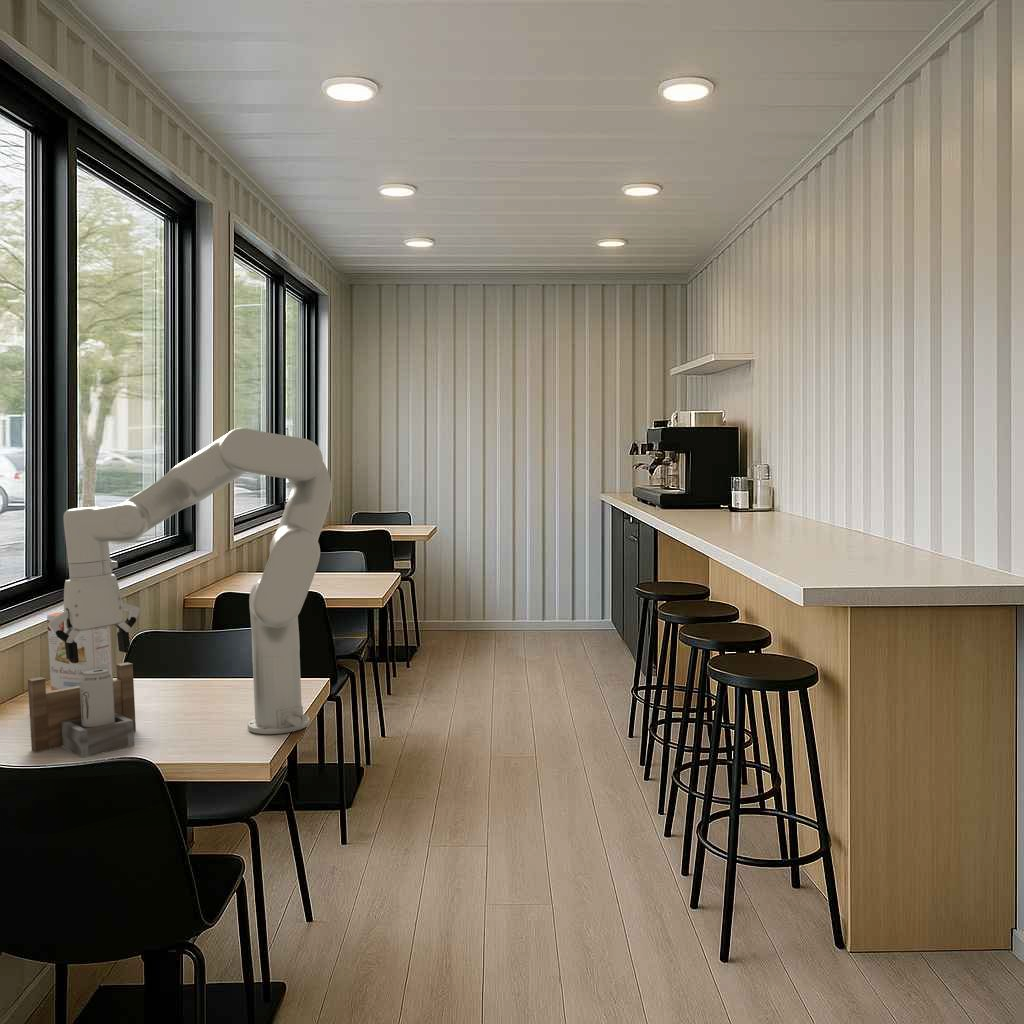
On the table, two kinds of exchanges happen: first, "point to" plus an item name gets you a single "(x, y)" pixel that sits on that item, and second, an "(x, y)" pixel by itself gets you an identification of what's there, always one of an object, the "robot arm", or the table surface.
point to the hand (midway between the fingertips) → (99, 656)
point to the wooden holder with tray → (61, 717)
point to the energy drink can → (97, 698)
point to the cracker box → (90, 653)
